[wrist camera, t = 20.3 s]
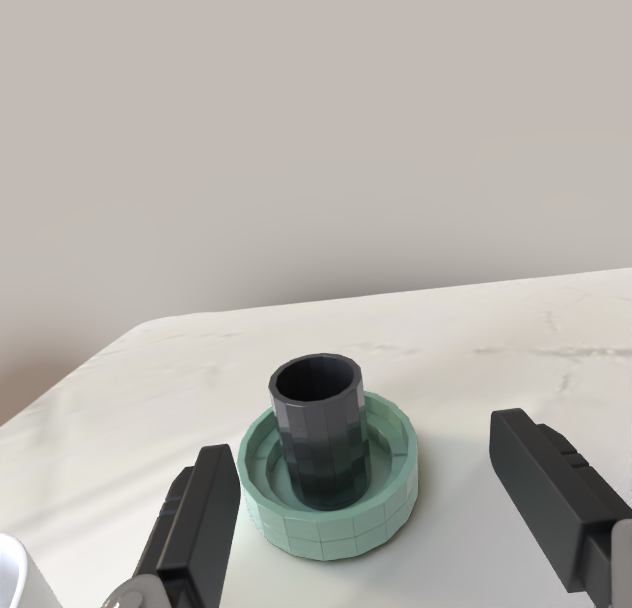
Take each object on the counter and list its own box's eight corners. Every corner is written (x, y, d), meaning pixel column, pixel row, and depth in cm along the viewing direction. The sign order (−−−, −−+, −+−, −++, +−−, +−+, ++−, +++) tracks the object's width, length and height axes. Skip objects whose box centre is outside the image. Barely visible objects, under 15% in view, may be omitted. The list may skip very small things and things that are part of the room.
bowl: (365, 405, 36) (361, 371, 35) (458, 511, 24) (459, 467, 23) (235, 454, 32) (225, 418, 31) (272, 607, 21) (259, 561, 19)
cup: (348, 434, 32) (337, 345, 29) (387, 488, 26) (379, 384, 23) (280, 462, 30) (259, 369, 27) (305, 526, 24) (284, 419, 21)
